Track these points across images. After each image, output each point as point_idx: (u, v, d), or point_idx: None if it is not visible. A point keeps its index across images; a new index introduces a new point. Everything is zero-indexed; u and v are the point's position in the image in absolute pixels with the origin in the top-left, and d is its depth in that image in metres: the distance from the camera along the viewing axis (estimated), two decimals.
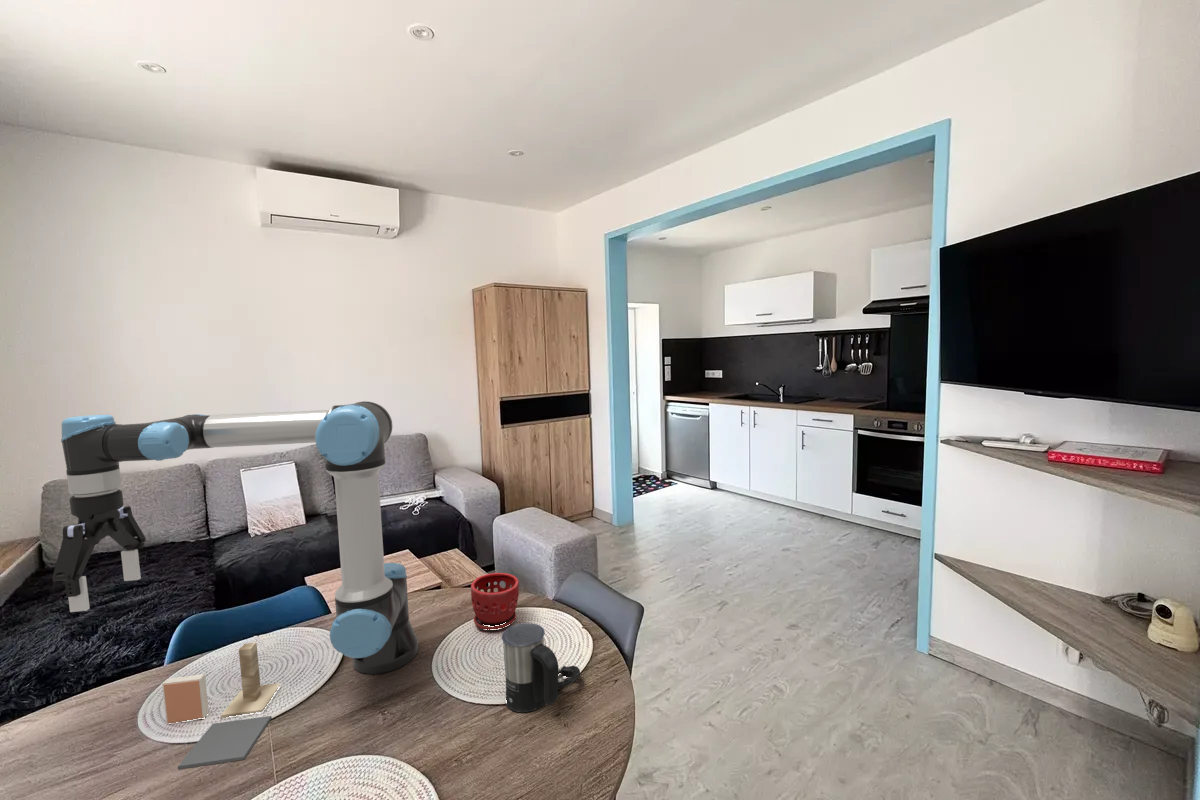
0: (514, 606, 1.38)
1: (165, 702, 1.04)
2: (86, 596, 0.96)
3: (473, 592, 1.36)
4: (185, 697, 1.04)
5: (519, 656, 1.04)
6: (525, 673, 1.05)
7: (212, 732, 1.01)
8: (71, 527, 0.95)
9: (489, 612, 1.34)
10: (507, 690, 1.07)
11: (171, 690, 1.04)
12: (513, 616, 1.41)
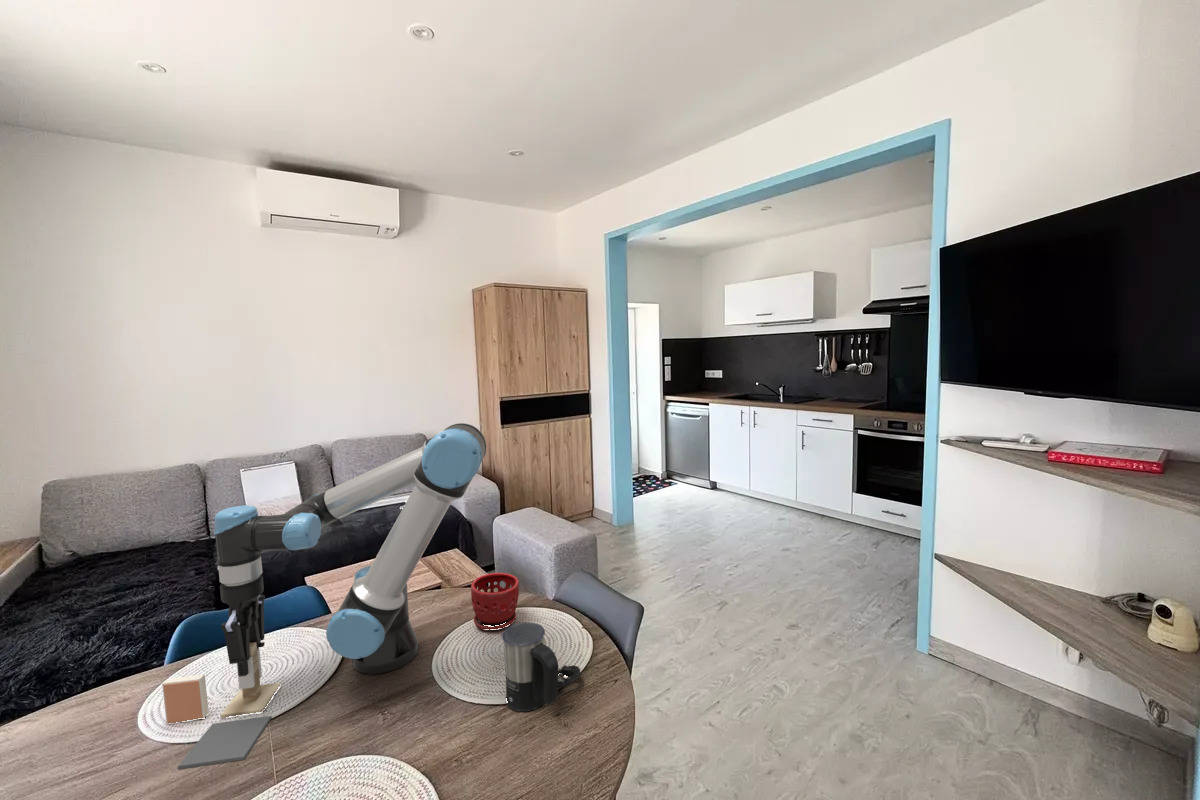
0: (514, 606, 1.38)
1: (165, 702, 1.04)
2: (252, 674, 1.09)
3: (473, 592, 1.36)
4: (185, 697, 1.04)
5: (519, 656, 1.04)
6: (525, 672, 1.05)
7: (212, 732, 1.01)
8: (228, 626, 1.02)
9: (489, 612, 1.34)
10: (507, 689, 1.07)
11: (171, 690, 1.04)
12: (513, 616, 1.41)
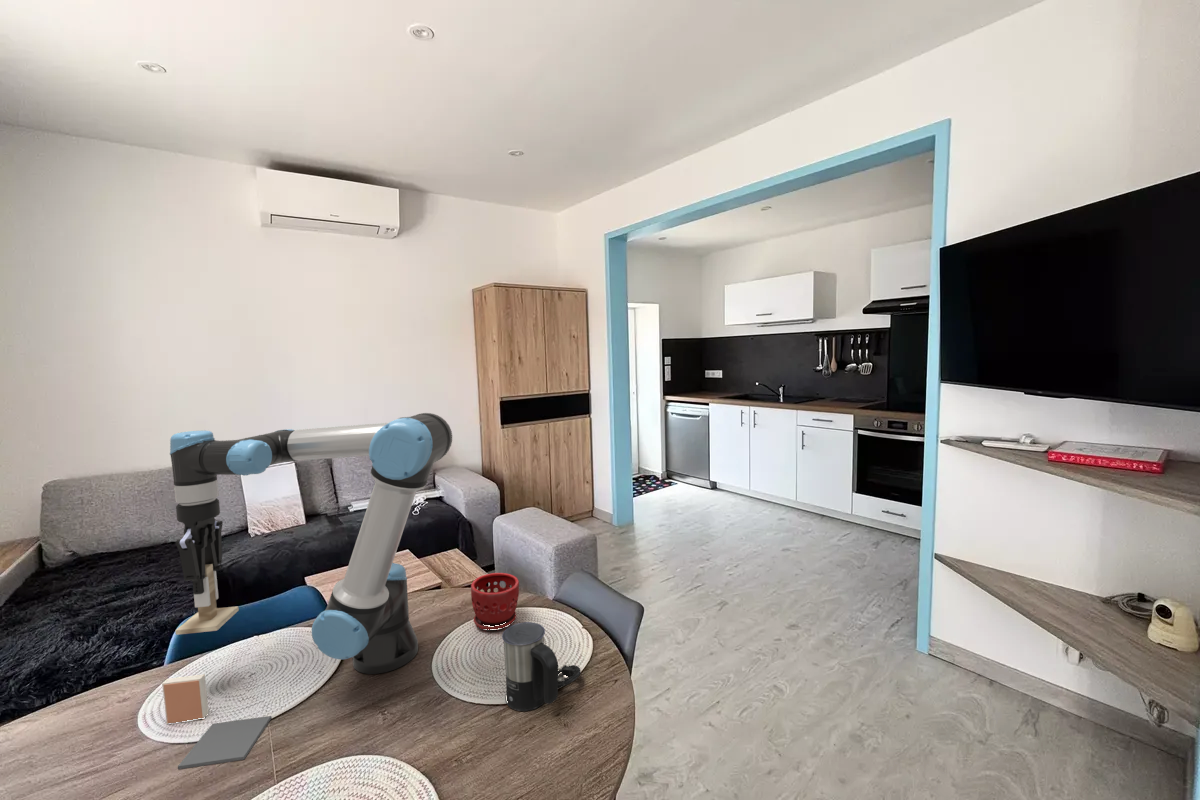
0: (514, 606, 1.38)
1: (165, 702, 1.04)
2: (208, 594, 1.12)
3: (473, 592, 1.36)
4: (185, 697, 1.04)
5: (519, 655, 1.05)
6: (525, 672, 1.05)
7: (212, 732, 1.01)
8: (182, 542, 1.06)
9: (489, 612, 1.34)
10: (507, 689, 1.07)
11: (171, 690, 1.04)
12: (513, 616, 1.41)
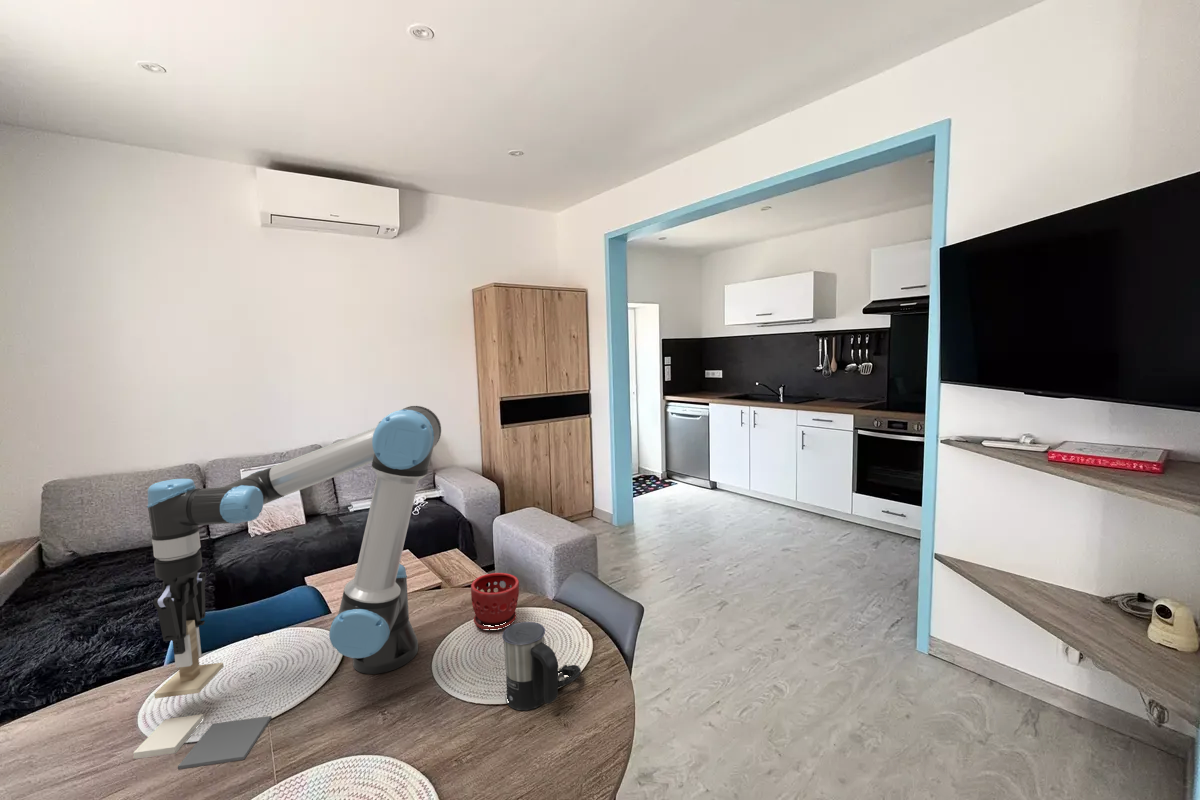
0: (514, 606, 1.38)
1: None
2: (190, 653, 1.05)
3: (473, 592, 1.36)
4: None
5: (519, 655, 1.05)
6: (525, 671, 1.05)
7: (212, 732, 1.01)
8: (160, 601, 0.99)
9: (489, 612, 1.34)
10: (507, 688, 1.08)
11: None
12: (513, 616, 1.41)
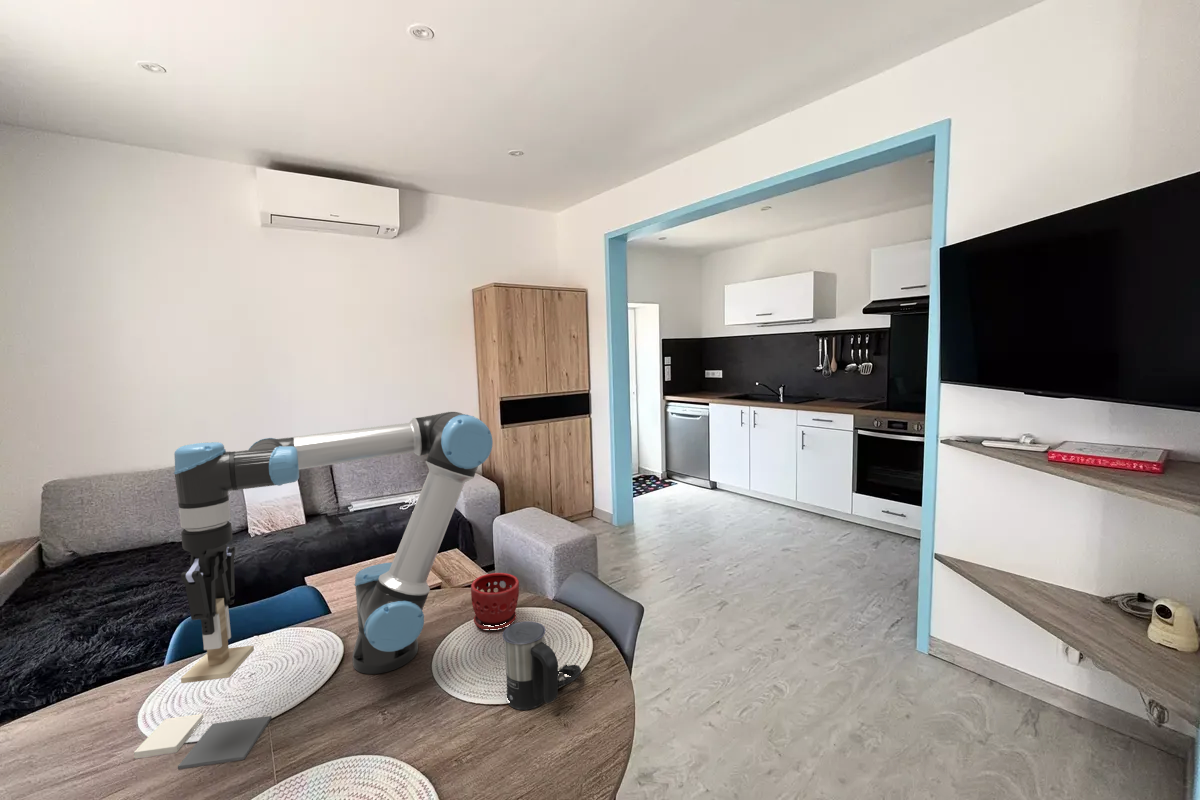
0: (514, 606, 1.38)
1: None
2: (219, 634, 0.96)
3: (473, 592, 1.36)
4: None
5: (519, 654, 1.05)
6: (525, 671, 1.05)
7: (212, 732, 1.01)
8: (189, 575, 0.90)
9: (489, 612, 1.34)
10: (508, 687, 1.08)
11: None
12: (513, 616, 1.41)
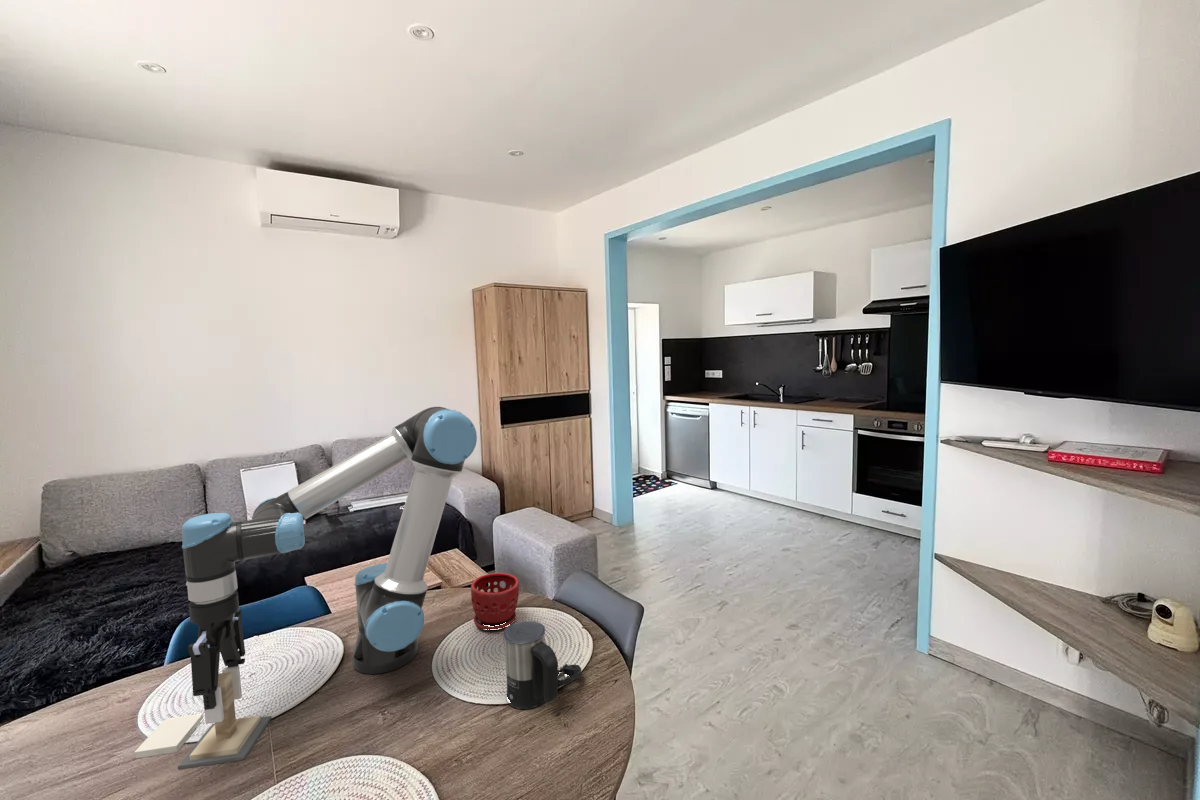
0: (514, 606, 1.38)
1: None
2: (221, 707, 0.95)
3: (473, 592, 1.36)
4: None
5: (519, 654, 1.05)
6: (525, 670, 1.05)
7: None
8: (196, 647, 0.90)
9: (489, 612, 1.34)
10: (508, 687, 1.08)
11: None
12: (513, 616, 1.41)
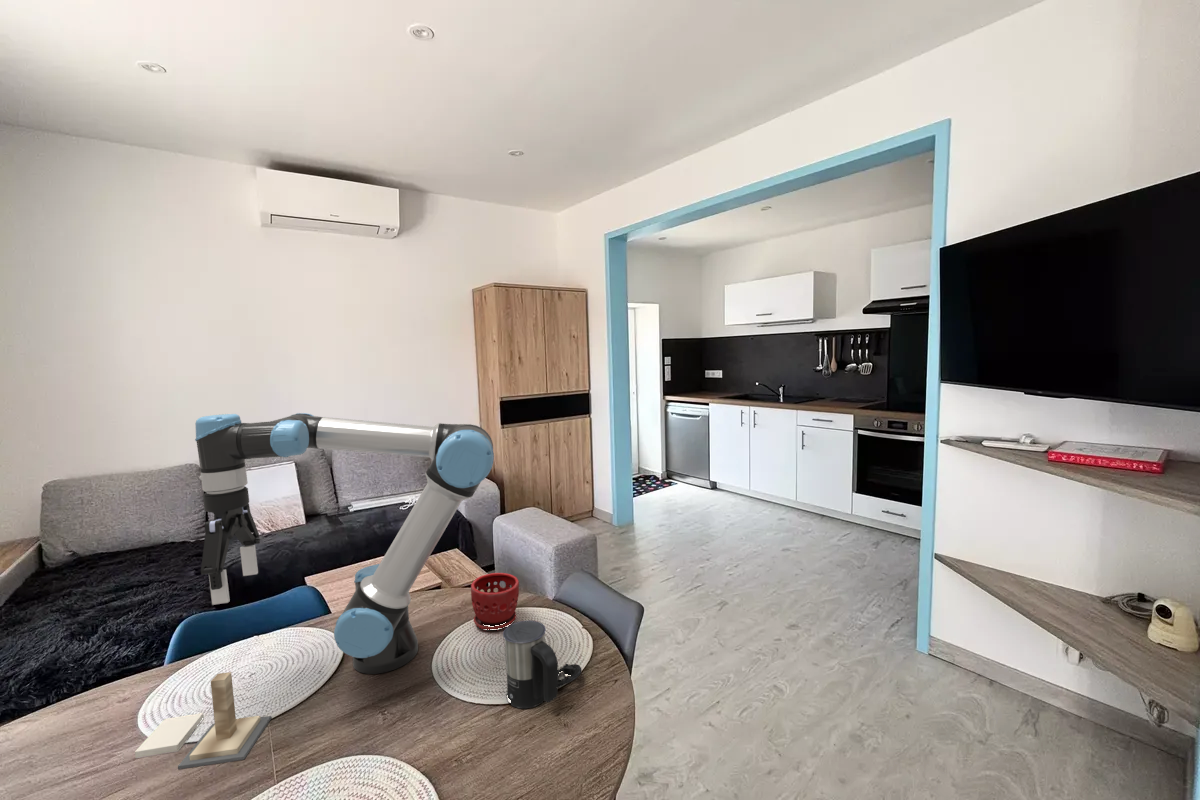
0: (514, 606, 1.38)
1: None
2: (227, 589, 1.00)
3: (473, 592, 1.36)
4: None
5: (519, 653, 1.05)
6: (525, 670, 1.06)
7: None
8: (212, 522, 0.98)
9: (489, 612, 1.34)
10: (508, 686, 1.08)
11: None
12: (513, 616, 1.41)
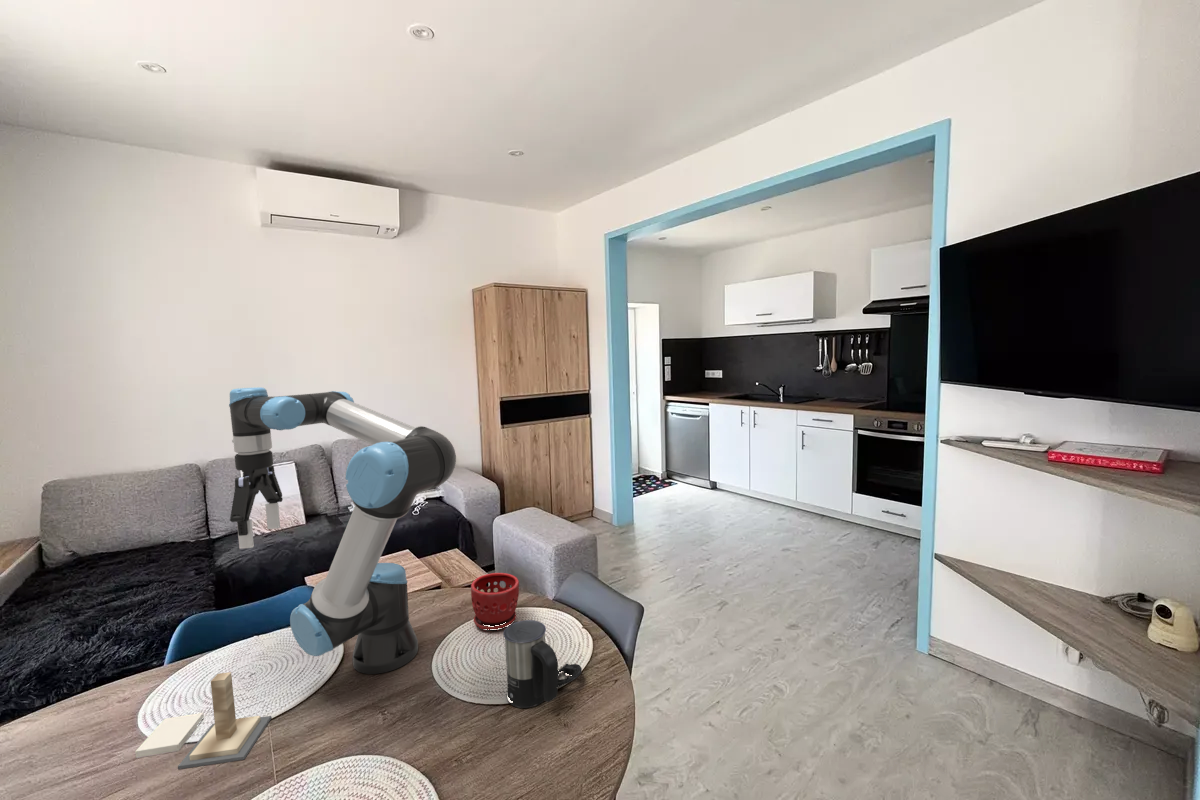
0: (514, 606, 1.38)
1: None
2: (252, 536, 1.16)
3: (473, 592, 1.36)
4: None
5: (519, 653, 1.06)
6: (525, 669, 1.06)
7: None
8: (241, 478, 1.15)
9: (489, 612, 1.34)
10: (508, 685, 1.08)
11: None
12: (513, 616, 1.41)
